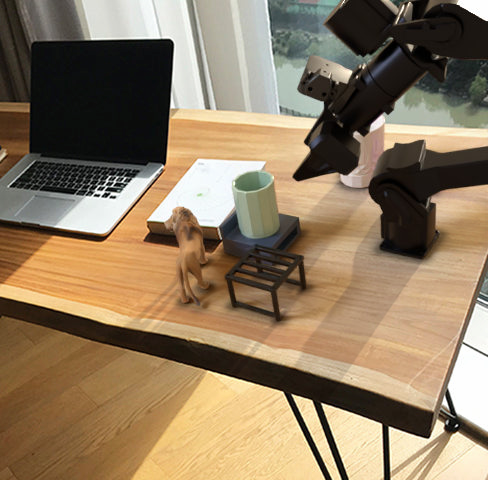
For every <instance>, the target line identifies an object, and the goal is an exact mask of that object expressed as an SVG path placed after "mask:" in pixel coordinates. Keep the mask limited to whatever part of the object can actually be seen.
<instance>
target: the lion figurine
mask: <svg viewBox="0 0 488 480" xmlns="http://www.w3.org/2000/svg"><path fill="white" fill-rule="evenodd" d="M171 212H172V214H171V215H170V216H169V218H168V219H167V220H165V221H164V227H165V228H166V229H167V230H169V231H170V232H171V233H173V232H174V235H175V237H176V241H177V243H178V247H179V253H178V255H177V256H176V258H175V259H176V260H175V261H176V264H175V265H176V266H175V267H176V268H175V271H176V276H177V281H178V286H179V294H180V297H181V298H180V300H181V302H182V303H184V304H185V303H189V301H190V297H191V298H192V300H193V302H194V305H196V307H200V306H201V302H200V300H199V298H198V297H197V296H196V295H195V293H194V292H193V290H192V287H191V284H190V281H189V276H188V273H190V274H191V275H192V276H194V278H195V279H196V281H197V286H198V287H200V288H201V289H204V290H207V289H209V287H210V283H209V282H208V281H204V279H203V272H202V268H201V265H206V264H208V262H209V259H208V258H206V249H205V245H204V231H203V229H202V226H201V225H200V223H199V221H198V218H197V216H195V214H194V213H193V212H192V210H191V209H189V208H187V207H185V206H176V207H175V208H173V209H172V210H171ZM200 264H201V265H200ZM186 290H187V291H186ZM187 292H188V294H189V296H188V295H187Z"/></svg>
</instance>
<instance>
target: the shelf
mask: <svg viewBox="0 0 488 480" xmlns="http://www.w3.org/2000/svg"><path fill="white" fill-rule="evenodd" d="M279 218H280V227H279V229H278V231H277V232H276V233H274V234H273V235H271V236H268V237H265V238H260V239H252V238H248V237H245V236H244V235H243V234H242V233H241V231H240V229H239V223H238V218H237V213H236V209H234V211H233V212H232V213H231V214H230V215H229V216H228V217H227V218H226V219H224V221H223V222H221V223H220V225H218V230H219V234H220V238H221V242H222V248H223V252H224V254H228V255H229V256H234V257H239V258H242V257H243V256H244V255H245V254H246V253H247V252H248V251H249V250H250V249H251V247H252V246H253V245H254V244H259V245H262V246H266V247H270V248H274V249H278V250H282V251H286V252H287V250H288V249H289V247H291V245H292V244H293V243H294V242H295V241H296V240H297V239H298V237H300V235H301V234H302V228H301V222H300V216H295V215H290V214H286V213H281V212H279ZM260 255H264V256H268V257H272V258H276V259H280V258H281V257H280V256H276V255H272V254H268V253H264V252H260ZM248 261H252V262H256V261H255V259H254V258H250V259H249V260H248ZM261 262H262V264H264V265H267V266H273V265H275V264H274V263H270V262H266V261H262V260H261Z"/></svg>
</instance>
